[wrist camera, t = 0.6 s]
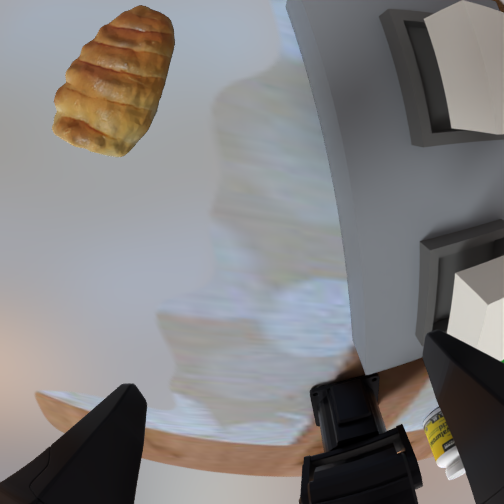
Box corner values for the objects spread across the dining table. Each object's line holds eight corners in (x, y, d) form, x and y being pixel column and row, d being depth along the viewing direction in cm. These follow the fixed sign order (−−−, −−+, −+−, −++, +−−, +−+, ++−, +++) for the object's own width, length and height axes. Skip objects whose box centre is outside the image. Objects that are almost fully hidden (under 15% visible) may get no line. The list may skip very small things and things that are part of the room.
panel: (487, 294, 20) (518, 326, 15) (352, 339, 22) (370, 387, 17) (464, 13, 11) (506, -2, 6) (285, 7, 13) (295, -33, 8)
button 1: (501, 319, 13) (524, 346, 11) (444, 345, 14) (466, 379, 11) (515, 250, 11) (547, 274, 9) (455, 272, 12) (487, 304, 9)
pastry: (119, 7, 12) (93, -12, 9) (207, 31, 14) (195, 8, 10) (63, 129, 16) (28, 134, 12) (140, 164, 17) (113, 174, 13)
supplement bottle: (444, 399, 26) (472, 460, 17) (462, 403, 27) (489, 457, 18) (414, 425, 28) (435, 485, 19) (435, 427, 29) (455, 480, 20)
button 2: (516, 125, 9) (557, 133, 6) (451, 128, 9) (497, 134, 7) (496, 32, 7) (534, 25, 4) (423, 19, 7) (462, -1, 5)
